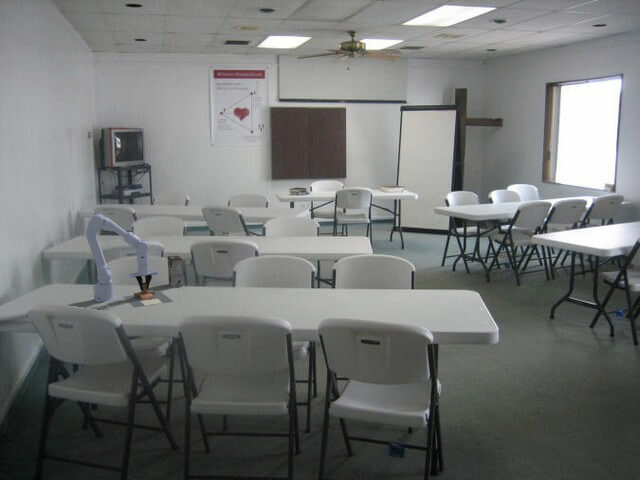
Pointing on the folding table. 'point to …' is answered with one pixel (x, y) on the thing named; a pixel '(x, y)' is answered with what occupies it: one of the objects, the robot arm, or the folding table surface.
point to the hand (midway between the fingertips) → (144, 289)
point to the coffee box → (175, 271)
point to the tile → (146, 296)
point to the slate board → (158, 299)
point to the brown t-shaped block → (143, 291)
